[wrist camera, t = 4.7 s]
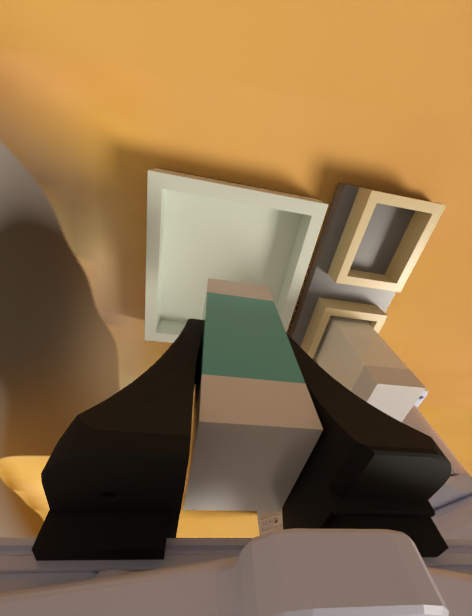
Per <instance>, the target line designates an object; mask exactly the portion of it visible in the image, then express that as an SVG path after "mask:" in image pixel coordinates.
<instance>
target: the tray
mask: <svg viewBox="0 0 472 616" xmlns="http://www.w3.org/2000/svg"><path fill="white" fill-rule="evenodd" d="M328 205H329V204H327V203H324V202H322V201H320V200H318V199H316V198H311V197H305V196H300V195H295V194H290V193H284V192H279V191H274V190H269V189H264V188H258V187H253V186H248V185H243V184H237V183H232V182H227V181H222V180H217V179H211V178H206V177H201V176H196V175H191V174H185V173H180V172H175V171H170V170H164V169H159V168H154V169H150V170H148V182H147V237H146V292H145V340H149V341H158V342H168V343H174V341H175V340H176V339H177V337H178V336H179V335H180V333H181V332H182V330H183V328H184V327H185V325H186V323H187V320H189V319H190V318H191V319H200V320H202V315H203V308H204V301H205V294H206V288H207V281H208V278H212V279H219V280H226V281H233V282H239V283H246V284H253V285H260V286H267V287H268V288H269V290H270V293H271V295H272V298H273V301H274V303H275V306H276V308H277V311H278V314H279V316H280V319H281V321H282V324H283V326H284V329H285V332H287V330H288V327H289V324H290V321H291V318H292V315H293V312H294V309H295V306H296V303H297V300H298V297H299V293H300V290H301V287H302V284H303V281H304V278H305V275H306V272H307V269H308V266H309V263H310V260H311V257H312V254H313V251H314V248H315V245H316V242H317V239H318V236H319V232H320V229H321V226H322V223H323V220H324V217H325V214H326V211H327V208H328Z"/></svg>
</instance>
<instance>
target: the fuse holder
mask: <svg viewBox="0 0 472 616" xmlns="http://www.w3.org/2000/svg"><path fill="white" fill-rule="evenodd" d="M445 207H446V205H442V204H440V203H435V202H431V201H426V200H421V199H416V198H411V197H406V196H401V195H397V194H392V193H387V192H382V191H377V190H372V189H367V188H362V187H357V186H352V185H347V184H342V183H339V184H338V187H337V190H336V193H335V196H334V199H333V202H332V205H331V208H330V211H329V214H328V217H327V220H326V223H325V226H324V229H323V232H322V235H321V238H320V241H319V244H318V247H317V250H316V253H315V256H314V259H313V262H312V265H311V268H310V271H309V274H308V277H307V280H306V283H305V286H304V289H303V292H302V295H301V298H300V301H299V304H298V307H297V310H296V313H295V316H294V319H293V322H292V325H291V328H290V331H289V334H288V335H289V336H290V337H291V338H292V339H293V340H294V341H295V342H296V343H297V344H298V345H299V346H300V347H301V348H302V349H303V350H304V351H305V352H306V353H307V354H308V355H309V356H310V357H311V358H312V359H313V360H314V361H315V362H316V363H317V361H316V359H315V356H314V355H315V353H316V350H317V348H318V346H319V343H320V341H321V338H322V336H323V333H324V331H325V328H326V326H327V324H328V321H329V319H330V316H338V317H346V318H354V319H362V320H366V321H367V322H368V323H369V324H370V325H371V327H372V328H373V329H374V330H375V331H376V332H377V333H378V334H379V332H380V330H381V328H382V326H383V324H384V322H385V320H386V318H387V317H388V315H387V314H386V313H385V312H386V310H387V308H388V306H389V305H390V303H391V301H392V299H393V297H394V295H395V293H396V292H401V290H402V288H403V286H404V284H405V283H406V281H407V279H408V277H409V275H410V273H411V271H412V269H413V267H414V266H415V264H416V262H417V260H418V258H419V256H420V254H421V252H422V250H423V249H424V247H425V245H426V243H427V241H428V239H429V237H430V235H431V234H432V232H433V230H434V228H435V226H436V224H437V222H438V220H439V218H440V217H441V215H442V213H443V211H444V209H445ZM317 364H318V363H317Z"/></svg>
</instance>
